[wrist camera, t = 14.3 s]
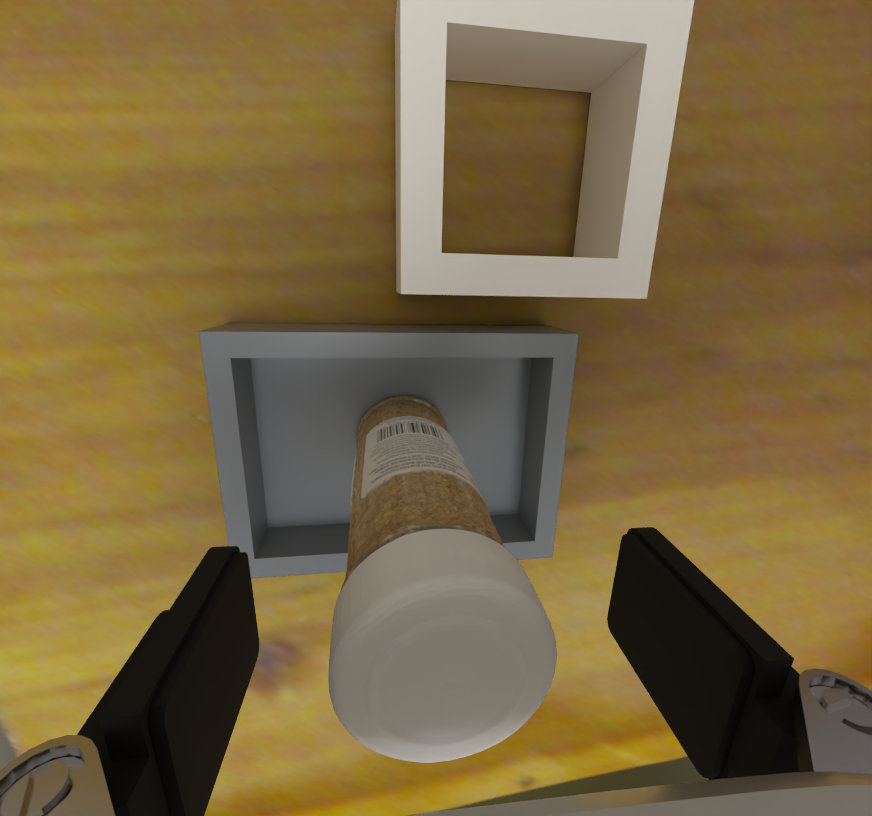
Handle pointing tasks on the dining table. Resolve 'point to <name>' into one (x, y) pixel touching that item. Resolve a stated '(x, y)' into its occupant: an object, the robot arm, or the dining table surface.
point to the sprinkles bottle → (430, 601)
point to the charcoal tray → (348, 403)
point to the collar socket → (605, 141)
